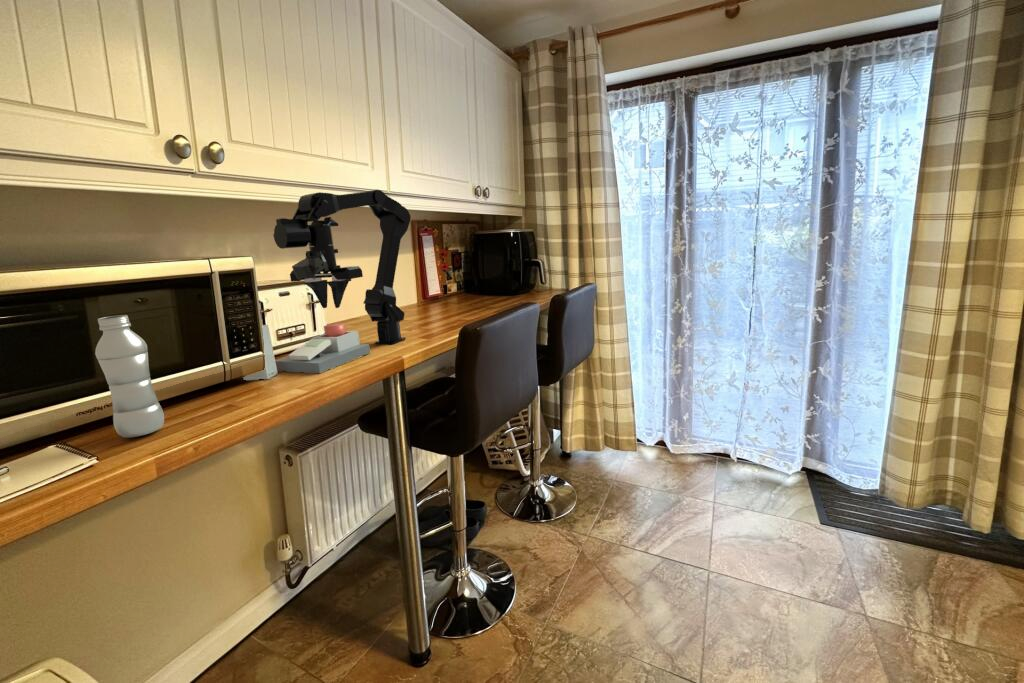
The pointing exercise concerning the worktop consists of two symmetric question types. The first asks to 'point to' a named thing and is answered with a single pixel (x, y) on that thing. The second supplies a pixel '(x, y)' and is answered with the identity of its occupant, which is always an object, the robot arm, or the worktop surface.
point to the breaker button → (334, 330)
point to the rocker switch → (309, 349)
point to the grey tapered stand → (266, 359)
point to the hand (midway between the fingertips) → (331, 307)
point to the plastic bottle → (128, 378)
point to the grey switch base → (328, 354)
